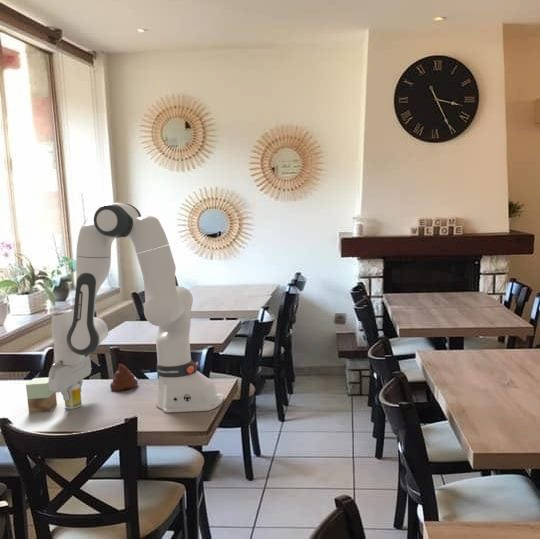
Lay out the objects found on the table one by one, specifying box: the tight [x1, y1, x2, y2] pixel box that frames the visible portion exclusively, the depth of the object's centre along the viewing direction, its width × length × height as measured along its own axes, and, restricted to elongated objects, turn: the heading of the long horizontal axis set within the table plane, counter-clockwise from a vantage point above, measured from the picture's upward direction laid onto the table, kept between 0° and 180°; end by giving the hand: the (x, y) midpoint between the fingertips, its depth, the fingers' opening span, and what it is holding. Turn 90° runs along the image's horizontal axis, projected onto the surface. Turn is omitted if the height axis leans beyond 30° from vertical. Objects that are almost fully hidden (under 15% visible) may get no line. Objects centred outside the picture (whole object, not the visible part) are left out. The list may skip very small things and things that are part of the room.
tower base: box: [27, 392, 58, 414], centre depth 198 cm, size 7×7×5 cm
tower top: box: [25, 376, 54, 399], centre depth 197 cm, size 7×7×5 cm
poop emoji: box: [109, 363, 139, 392], centre depth 215 cm, size 10×8×9 cm
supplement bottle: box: [64, 379, 82, 410], centre depth 198 cm, size 5×5×10 cm
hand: (72, 396), depth 198 cm, fingers closed on supplement bottle, 5 cm apart
